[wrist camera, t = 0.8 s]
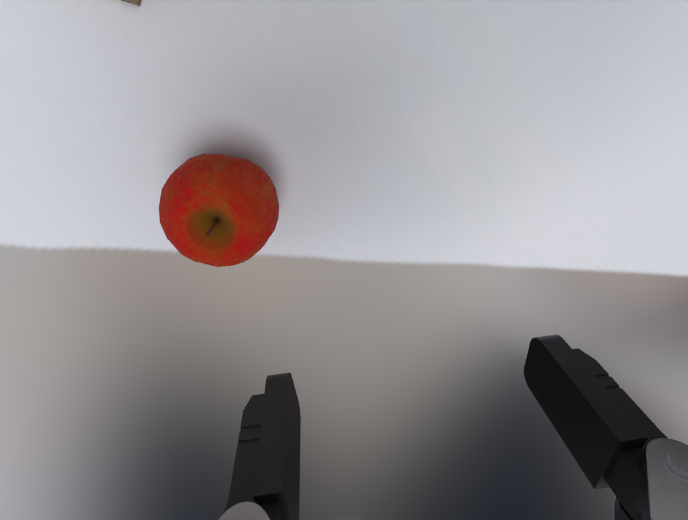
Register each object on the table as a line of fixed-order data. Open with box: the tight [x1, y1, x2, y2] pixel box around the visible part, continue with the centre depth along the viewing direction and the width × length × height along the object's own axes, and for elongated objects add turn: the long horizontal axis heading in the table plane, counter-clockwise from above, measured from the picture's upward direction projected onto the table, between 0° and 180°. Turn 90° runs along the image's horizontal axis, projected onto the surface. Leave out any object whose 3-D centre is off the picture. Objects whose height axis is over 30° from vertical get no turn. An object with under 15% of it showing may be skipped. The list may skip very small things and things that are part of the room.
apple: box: [159, 154, 279, 267], centre depth 28 cm, size 9×8×11 cm
